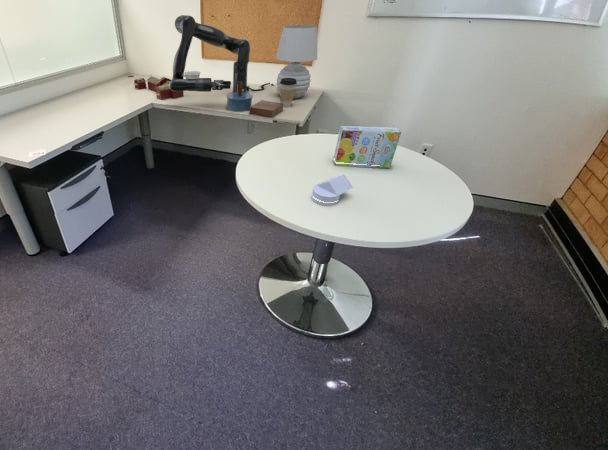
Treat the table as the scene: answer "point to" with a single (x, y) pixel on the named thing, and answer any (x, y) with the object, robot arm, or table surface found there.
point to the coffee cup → (287, 91)
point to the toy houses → (158, 87)
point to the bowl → (239, 105)
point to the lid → (239, 94)
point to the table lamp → (297, 55)
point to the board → (266, 108)
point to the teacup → (192, 74)
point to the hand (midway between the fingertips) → (230, 84)
